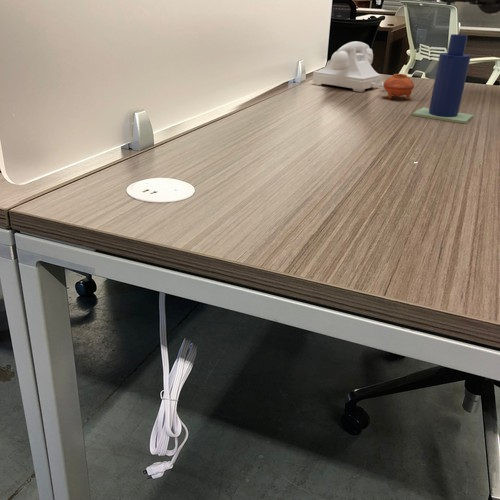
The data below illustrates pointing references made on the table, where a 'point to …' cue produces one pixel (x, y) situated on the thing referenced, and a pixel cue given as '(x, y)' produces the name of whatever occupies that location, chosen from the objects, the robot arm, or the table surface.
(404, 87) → the pot
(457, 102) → the bottle
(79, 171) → the table surface
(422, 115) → the mat
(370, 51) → the telephone
